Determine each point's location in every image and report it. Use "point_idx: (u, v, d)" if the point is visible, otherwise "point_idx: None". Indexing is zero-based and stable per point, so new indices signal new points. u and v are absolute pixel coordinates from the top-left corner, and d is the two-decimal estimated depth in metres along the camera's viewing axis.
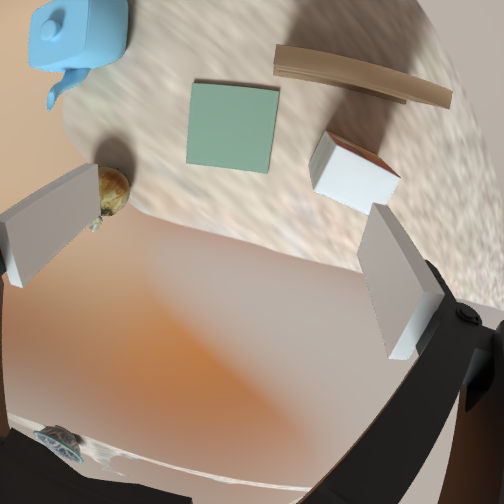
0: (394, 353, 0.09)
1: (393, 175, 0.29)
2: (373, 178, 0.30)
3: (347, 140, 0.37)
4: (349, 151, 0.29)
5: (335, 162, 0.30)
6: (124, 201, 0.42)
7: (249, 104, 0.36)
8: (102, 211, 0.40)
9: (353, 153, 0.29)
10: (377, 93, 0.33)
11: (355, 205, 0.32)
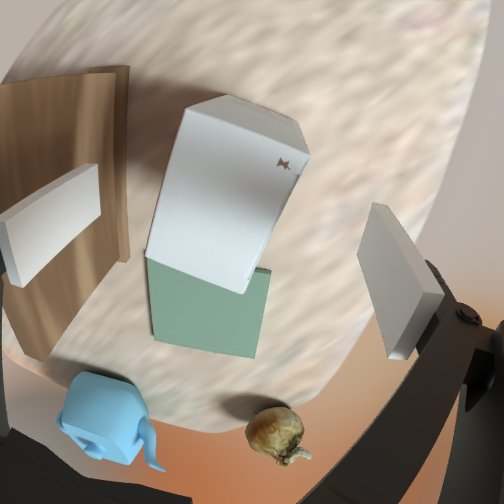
0: (395, 353, 0.09)
1: (181, 129, 0.12)
2: (196, 179, 0.13)
3: None
4: (150, 233, 0.15)
5: (177, 259, 0.15)
6: (289, 421, 0.34)
7: (170, 289, 0.29)
8: (291, 446, 0.34)
9: (152, 226, 0.15)
10: (116, 116, 0.21)
11: (270, 213, 0.14)
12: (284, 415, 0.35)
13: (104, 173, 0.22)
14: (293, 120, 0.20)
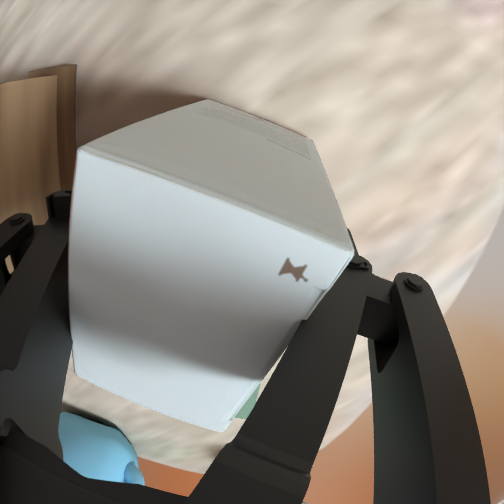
0: None
1: (76, 193, 0.05)
2: (119, 290, 0.06)
3: None
4: (73, 351, 0.08)
5: (118, 388, 0.09)
6: None
7: None
8: None
9: None
10: (60, 135, 0.14)
11: (263, 350, 0.07)
12: None
13: (47, 214, 0.15)
14: (306, 138, 0.14)
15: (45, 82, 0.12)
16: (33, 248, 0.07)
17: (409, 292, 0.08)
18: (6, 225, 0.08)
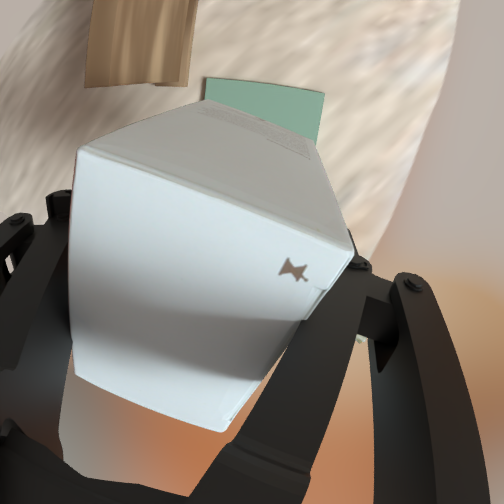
0: None
1: (75, 194, 0.05)
2: (119, 290, 0.06)
3: None
4: (73, 351, 0.08)
5: (118, 388, 0.09)
6: None
7: None
8: None
9: None
10: None
11: (263, 350, 0.07)
12: None
13: None
14: (306, 138, 0.14)
15: None
16: (33, 248, 0.07)
17: (409, 292, 0.08)
18: (6, 225, 0.08)
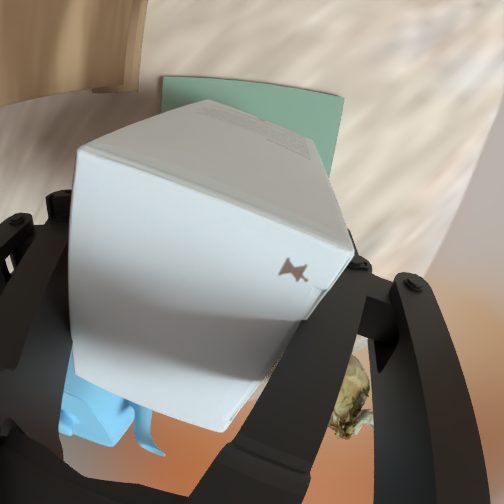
0: None
1: (75, 193, 0.05)
2: (119, 290, 0.06)
3: None
4: (73, 351, 0.08)
5: (118, 388, 0.09)
6: (353, 368, 0.24)
7: None
8: (355, 407, 0.23)
9: None
10: None
11: (264, 350, 0.07)
12: None
13: None
14: (306, 138, 0.14)
15: None
16: (33, 248, 0.07)
17: (409, 292, 0.08)
18: (6, 225, 0.08)
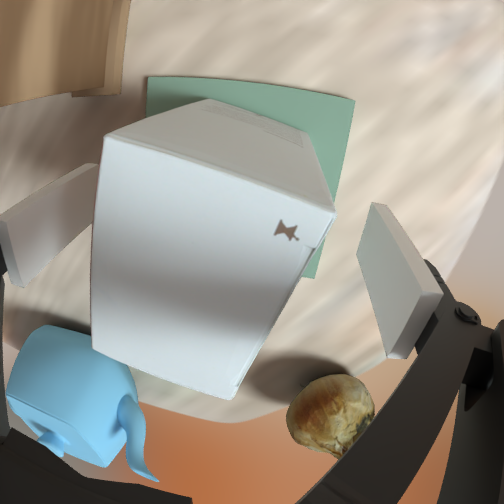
0: (394, 353, 0.09)
1: (102, 173, 0.07)
2: (137, 258, 0.08)
3: None
4: (92, 324, 0.09)
5: (133, 358, 0.10)
6: (358, 394, 0.22)
7: None
8: (359, 434, 0.21)
9: (91, 315, 0.09)
10: None
11: (265, 308, 0.08)
12: (350, 385, 0.22)
13: None
14: (301, 131, 0.15)
15: None
16: None
17: None
18: None
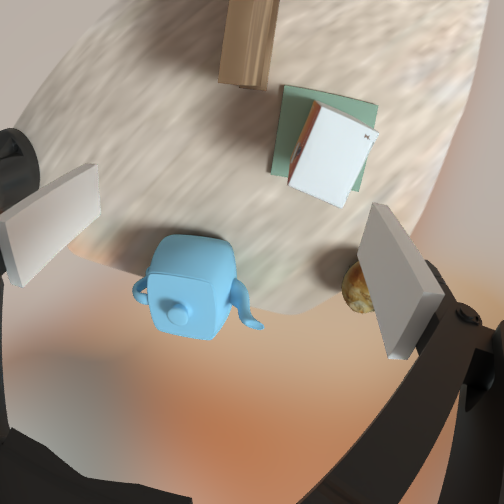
0: (394, 353, 0.09)
1: (318, 116, 0.24)
2: (325, 142, 0.25)
3: (299, 136, 0.34)
4: (294, 171, 0.27)
5: (308, 186, 0.27)
6: None
7: (299, 116, 0.34)
8: None
9: (296, 166, 0.26)
10: None
11: (359, 161, 0.25)
12: None
13: (269, 16, 0.27)
14: None
15: None
16: None
17: None
18: None
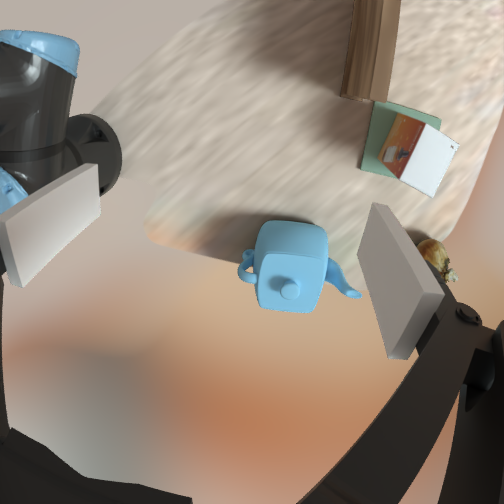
0: (394, 353, 0.09)
1: (424, 130, 0.30)
2: (426, 149, 0.31)
3: (386, 140, 0.40)
4: (404, 169, 0.33)
5: (412, 180, 0.33)
6: (442, 245, 0.45)
7: (385, 124, 0.40)
8: (445, 266, 0.44)
9: (406, 165, 0.33)
10: None
11: (446, 164, 0.32)
12: (437, 241, 0.46)
13: None
14: None
15: None
16: None
17: None
18: None
